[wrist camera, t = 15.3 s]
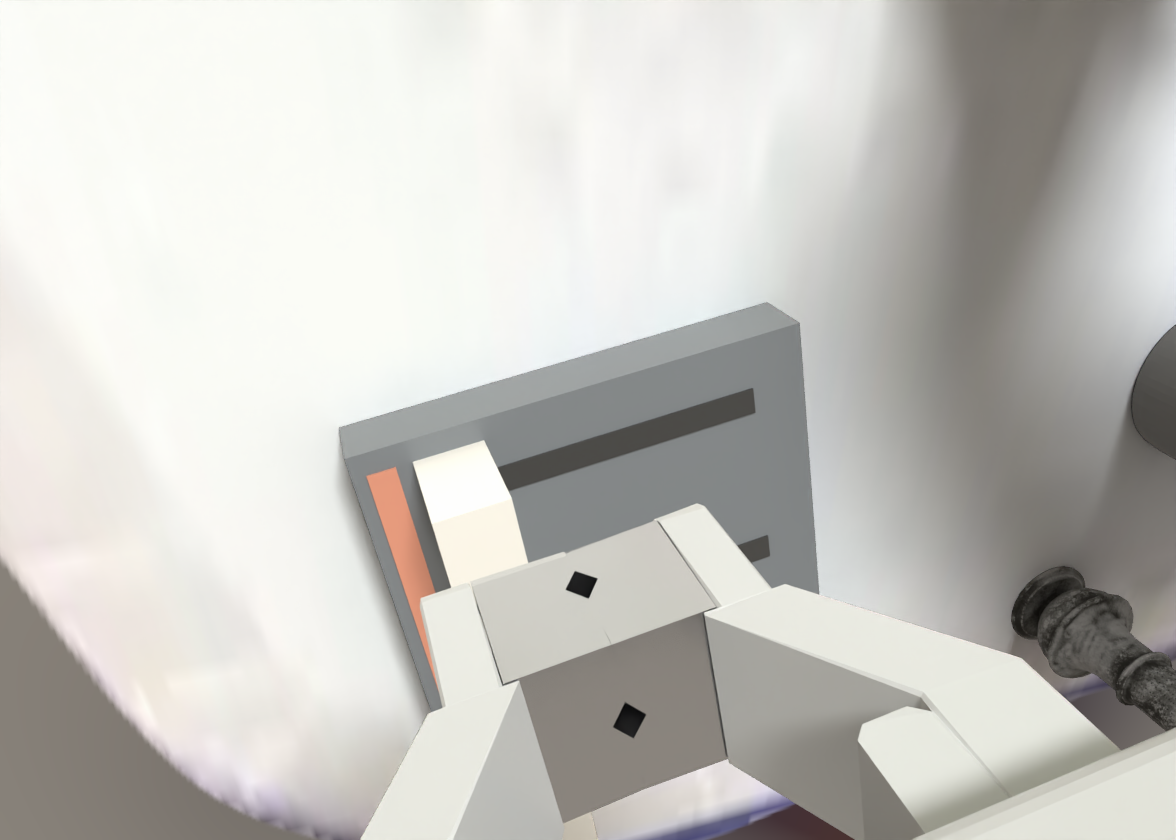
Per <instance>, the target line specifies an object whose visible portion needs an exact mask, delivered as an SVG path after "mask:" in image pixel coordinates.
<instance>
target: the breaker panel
mask: <svg viewBox="0 0 1176 840" xmlns="http://www.w3.org/2000/svg"><path fill="white" fill-rule="evenodd" d="M339 431H340V437H341V443H342V449H343V455H344V460H345V463H346V466H347V469H348V472H349V475H350V478H351V480H352V483H353V486H354V489H355V492H356V495H357V498H358V501H359V504H360V506H361V509H362V512H363V515H364V518H365V521H366V524H367V527H368V530H369V532H370V535H371V538H372V541H373V544H374V547H375V550H376V553H377V556H378V559H379V561H380V564H381V567H382V570H383V573H384V576H385V579H386V582H387V585H388V587H389V590H390V593H391V596H392V599H393V602H394V605H395V608H396V611H397V614H398V616H399V619H400V622H401V625H402V628H403V631H404V634H405V637H406V640H407V642H408V645H409V648H410V651H411V654H412V657H413V660H414V663H415V666H416V669H417V671H418V674H419V677H420V680H421V683H422V686H423V689H424V692H425V695H426V697H427V700H428V703H429V706H430V709H431V712H433V711H436V710H439V709H441V708H442V703H441V699H440V695H439V690H438V686H437V681H436V677H435V672H434V668H433V663H432V659H431V655H430V650H429V646H428V641H427V637H426V632H425V628H424V624H423V619H422V615H421V610H420V599H421V598H423V597H425V596H428V595H431V594H434V593H437V592H440V591H443V590H446V589H449V588H452V587H455V586H458V585H461V584H464V583H468V584H469V585H470V586H471V583H470V581H473V580H476V579H479V578H482V577H486V576H489V575H492V574H495V573H498V572H501V571H504V570H508V569H511V568H514V567H517V566H520V565H523V564H526V563H530V562H533V561H536V560H539V559H542V558H545V557H548V556H552V555H555V554H558V553H561V552H567V551H570V550H573V549H576V548H579V547H581V546H584V545H587V544H590V543H593V542H596V541H598V540H601V539H604V538H607V537H610V536H613V535H616V534H618V533H621V532H624V531H627V530H630V529H633V528H635V527H638V526H641V525H644V524H647V523H650V522H652V521H653V520H654V519H657V518H659V517H662V516H665V515H667V514H670V513H673V512H675V511H678V510H681V509H683V508H686V507H689V506H691V505H694V504H696V503H698V504H700V505H703V506H705V507H706V508H707V510H708V511H709V512H710V513H711V515H712V516H713V517H714V518H715V519H716V521H717V522H718V523H719V524H720V526H721V527H722V528H723V529H724V530H725V532H726V533H727V534H728V535H729V537H730V538H731V539H732V540H733V541H734V543H735V544H736V545H737V546H738V548H739V549H740V550H741V551H742V553H743V554H744V555H745V556H746V557H747V559H748V560H749V561H750V562H751V564H752V565H753V566H754V567H755V568H756V570H757V571H758V572H759V573H760V575H761V576H762V577H763V578H764V580H765V581H766V582H767V583H768V584H769V586H770V587H771V588H775V587H778V586H781V585H784V584H787V585H790V586H793V587H797V588H800V589H803V590H806V591H809V592H813V593H816V594H819V585H818V571H817V557H816V543H815V530H814V516H813V502H812V488H811V475H810V461H809V447H808V433H807V420H806V406H805V392H804V378H803V365H802V351H801V337H800V323H799V322H797V321H796V320H794V319H793V318H791V317H789V316H788V315H786V314H785V313H783V312H782V311H780V310H779V309H777V308H775V307H774V306H772V305H771V304H769V303H768V302H767V303H763V304H760V305H757V306H753V307H750V308H746V309H743V310H739V311H736V312H733V313H729V314H726V315H722V316H719V317H716V318H712V319H709V320H705V321H702V322H698V323H695V324H692V325H688V326H685V327H681V328H678V329H675V330H671V331H668V332H664V333H661V334H657V335H654V336H651V337H647V338H644V339H640V340H637V341H634V342H630V343H627V344H623V345H620V346H616V347H613V348H610V349H606V350H603V351H599V352H596V353H593V354H589V355H586V356H582V357H579V358H575V359H572V360H569V361H565V362H562V363H558V364H555V365H552V366H548V367H545V368H541V369H538V370H534V371H531V372H528V373H524V374H521V375H517V376H514V377H511V378H507V379H504V380H500V381H497V382H493V383H490V384H487V385H483V386H480V387H476V388H473V389H470V390H466V391H463V392H459V393H456V394H452V395H449V396H446V397H442V398H439V399H435V400H432V401H429V402H425V403H422V404H418V405H415V406H411V407H408V408H405V409H401V410H398V411H394V412H391V413H388V414H384V415H381V416H377V417H374V418H370V419H367V420H364V421H360V422H357V423H353V424H350V425H347V426H343V427H340V428H339ZM471 589H472V586H471ZM472 592H473V590H472ZM473 596H474V593H473ZM474 599H475V596H474ZM475 602H476V600H475ZM476 605H477V603H476ZM477 608H478V606H477ZM478 611H479V609H478ZM479 614H480V612H479ZM563 825H564V828H565V829H564V833H563V837H562V840H598V837H597V833H596V829H595V825H594V821H593V817H592V813H591V812H589V813H587V814H584V815H582V816H580V817H577V818H575V819H573V820H570V821H568V822H566V823H563Z"/></svg>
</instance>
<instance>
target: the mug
mask: <svg viewBox="0 0 1176 840" xmlns="http://www.w3.org/2000/svg"><path fill="white" fill-rule="evenodd" d="M1132 415H1133V420H1134V424H1135V426H1136V428H1137V430H1138V432H1139V433H1140V434H1141V436H1142V437H1143V438H1144V439H1145V440H1146V441H1147V442H1148V443H1150V444H1151V445H1152V446H1154V447H1155V448H1157V449H1158V450H1160V451H1162V452H1163V453H1165V454H1167V455H1168V456H1170V457H1172V458H1174V459H1175V460H1176V325H1175V326H1174V327H1172V328H1171V329H1170V330H1169V331H1168V332H1167V333H1166V334H1165V335H1164V336H1163V337H1162V338H1161V340H1160V341H1159V342H1158V343H1157V344H1156V346H1155V347H1154V348H1153V350H1152V351H1151V353H1150V354H1149V356H1148V357H1147V359H1146V361H1145V363H1144V364H1143V366H1142V369H1141V371H1140V373H1139V375H1138V378H1137V381H1136V384H1135V387H1134V392H1133V398H1132Z"/></svg>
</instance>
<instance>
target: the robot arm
mask: <svg viewBox="0 0 1176 840" xmlns="http://www.w3.org/2000/svg"><path fill="white" fill-rule="evenodd" d="M470 583H471V586H472V589H471V586H470V585H469V584H468V583H464V584H461V585H458V586H455V587H452V588H449V589H446V590H443V591H440V592H437V593H434V594H431V595H428V596H425V597H423V598H421V599H420V610H421V615H422V619H423V624H424V628H425V632H426V637H427V641H428V646H429V650H430V655H431V659H432V663H433V668H434V672H435V677H436V681H437V686H438V690H439V695H440V699H441V703H442V708H441V709H439V710H436V711H433V712H431V713H429V714H427V716H426V718H425V720H424V722H423V723H422V725H421V727H420V729H419V731H418V733H417V735H416V736H415V738H414V740H413V742H412V744H411V746H410V748H409V750H408V751H407V753H406V755H405V757H404V759H403V761H402V763H401V764H400V766H399V768H398V770H397V772H396V774H395V776H394V777H393V779H392V781H391V783H390V785H389V787H388V789H387V791H386V792H385V794H384V796H383V798H382V800H381V802H380V804H379V805H378V807H377V809H376V811H375V813H374V815H373V817H372V818H371V820H370V822H369V824H368V826H367V828H366V830H365V832H364V833H363V835H362V837H361V839H360V840H562V837H563V833H564V829H565V828H564V825H563V823H566V822H568V821H570V820H573V819H575V818H577V817H580V816H582V815H584V814H587V813H589V812H591V811H594V810H596V809H598V808H601V807H603V806H606V805H608V804H610V803H613V802H615V801H617V800H620V799H622V798H624V797H627V796H629V795H631V794H634V793H636V792H638V791H641V790H643V789H645V788H649V787H651V786H654V785H657V784H660V783H662V782H665V781H668V780H671V779H673V778H676V777H679V776H682V775H684V774H687V773H690V772H693V771H696V770H698V769H701V768H704V767H707V766H709V765H712V764H715V763H718V762H720V761H723V760H726V759H728V760H729V763H730V764H732V765H733V766H735V767H737V768H738V769H740V770H742V771H743V772H745V773H747V774H748V775H750V776H751V777H753V778H755V779H756V780H758V781H760V782H761V783H763V784H765V785H766V786H768V787H770V788H771V789H773V790H774V791H776V792H778V793H779V794H781V795H783V796H784V797H786V798H788V799H789V800H791V801H793V802H794V803H796V804H798V805H799V806H801V807H803V808H804V809H806V810H807V811H809V812H811V813H812V814H814V815H816V816H817V817H819V818H821V819H822V820H824V821H825V822H827V823H829V824H830V825H832V826H834V827H835V828H837V829H839V830H840V831H842V832H844V833H845V834H847V835H849V836H850V837H852V838H853V839H855V840H1176V728H1173V729H1171V730H1169V731H1166V732H1164V733H1162V734H1159V735H1157V736H1155V737H1152V738H1150V739H1147V740H1145V741H1143V742H1140V743H1138V744H1136V745H1133V746H1131V747H1129V748H1126V749H1124V750H1120V749H1119V748H1118V747H1117V746H1116V745H1115V744H1114V743H1112V741H1110V740H1109V739H1108V738H1107V737H1106V736H1105V735H1104V734H1103V733H1102V732H1101V731H1099V729H1097V728H1096V727H1095V726H1094V725H1093V724H1092V723H1091V722H1090V721H1089V720H1088V719H1087V718H1085V716H1083V715H1082V714H1081V713H1080V712H1079V711H1078V710H1077V709H1076V708H1075V707H1074V706H1073V705H1071V704H1070V703H1069V702H1068V701H1067V700H1066V699H1065V698H1064V697H1063V696H1062V695H1061V694H1060V693H1059V692H1057V691H1056V690H1055V689H1054V688H1053V687H1052V686H1051V685H1050V684H1049V683H1048V682H1047V681H1046V680H1045V679H1043V678H1042V677H1041V676H1040V675H1039V674H1038V673H1037V672H1036V671H1035V670H1034V669H1033V668H1032V667H1030V666H1029V665H1028V664H1027V663H1026V662H1025V661H1024V660H1023V659H1022V658H1020V657H1017V656H1013V655H1010V654H1007V653H1004V652H1001V651H997V650H994V649H991V648H988V647H985V646H982V645H978V644H975V643H972V642H969V641H966V640H962V639H959V638H956V637H953V636H950V635H946V634H943V633H940V632H937V631H934V630H931V629H927V628H924V627H921V626H918V625H915V624H911V623H908V622H905V621H902V620H899V619H895V618H892V617H889V616H886V615H883V614H879V613H876V612H873V611H870V610H867V609H864V608H860V607H857V606H854V605H851V604H848V603H844V602H841V601H838V600H835V599H832V598H828V597H825V596H822V595H819V594H816V593H813V592H809V591H806V590H803V589H800V588H797V587H793V586H790V585H787V584H784V585H781V586H778V587H775V588H771V587H770V586H769V584H768V583H767V582H766V581H765V580H764V578H763V577H762V576H761V575H760V573H759V572H758V571H757V570H756V568H755V567H754V566H753V565H752V564H751V562H750V561H749V560H748V559H747V557H746V556H745V555H744V554H743V553H742V551H741V550H740V549H739V548H738V546H737V545H736V544H735V543H734V541H733V540H732V539H731V538H730V537H729V535H728V534H727V533H726V532H725V530H724V529H723V528H722V527H721V526H720V524H719V523H718V522H717V521H716V519H715V518H714V517H713V516H712V515H711V513H710V512H709V511H708V510H707V508H706V507H705V506H703V505H700V504H698V503H696V504H694V505H691V506H689V507H686V508H683V509H681V510H678V511H675V512H673V513H670V514H667V515H665V516H662V517H659V518H657V519H654V520H653V521H652V522H650V523H647V524H644V525H641V526H638V527H635V528H633V529H630V530H627V531H624V532H621V533H618V534H616V535H613V536H610V537H607V538H604V539H601V540H598V541H596V542H593V543H590V544H587V545H584V546H581V547H579V548H576V549H573V550H570V551H567V552H561V553H558V554H555V555H552V556H548V557H545V558H542V559H539V560H536V561H533V562H530V563H526V564H523V565H520V566H517V567H514V568H511V569H508V570H504V571H501V572H498V573H495V574H492V575H489V576H486V577H482V578H479V579H476V580H473V581H470ZM472 590H473V592H472ZM473 593H474V596H475V599H474V596H473ZM475 600H476V602H475ZM476 603H477V605H476ZM477 606H478V608H477ZM478 609H479V611H478ZM479 612H480V614H479ZM480 615H481V617H480ZM481 619H482V620H481ZM482 622H483V623H482ZM483 625H484V626H483ZM484 628H485V629H484ZM485 631H486V632H485ZM486 634H487V636H486ZM487 638H488V639H487ZM488 641H489V642H488ZM489 644H490V645H489ZM490 647H491V648H490ZM491 650H492V651H491Z"/></svg>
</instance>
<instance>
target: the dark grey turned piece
mask: <svg viewBox="0 0 1176 840" xmlns="http://www.w3.org/2000/svg"><path fill="white" fill-rule="evenodd" d="M1132 623H1133V613H1132V608H1131V606H1130V604H1129V603H1128V601H1127V600H1125V599H1124V598H1122V597H1120V596H1118V595H1112V594H1107V593H1105V592H1103V591H1098V590H1094V589H1089V588H1085V583H1084V579H1083V577H1082V576H1081V574H1080V573H1079V572H1078V571H1076V570H1075V569H1073V568H1070V567H1065V566H1064V567H1055V568H1053V569H1050V570H1047V571H1045V572H1043V573H1042V574H1040V575H1038V576H1037V577H1035V578H1034V579H1033V580H1032V581H1031V582H1030V583H1029V584H1028V585H1027V586H1026V587H1025V588H1024V589H1023V591H1022V592H1021V593H1020V595H1019V597H1018V598H1017V600H1016V602H1015V604H1014V608H1013V611H1012V624H1013V628H1014V629H1015V631H1016V632H1017V633H1018V634H1019V635H1020V636H1022V637H1024V638H1026V639H1038V642H1039V645H1040V647H1041V649H1042V651H1043V653H1044V655H1045V656H1046V657H1047V659H1048V660H1049V665H1050V667H1051V668H1052V670H1053V671H1054V672H1055V673H1056V674H1058V675H1060V676H1062V677H1066V678H1077V677H1083V676H1086V675H1088V674H1091V673H1093V674H1095V675H1097V676H1098V677H1099V678H1101V679H1102V680H1103V681H1104V682H1105V683H1107V684H1108V685H1109V686H1110V687H1111V688H1113V689H1114V690H1115V691H1116V696H1117V698H1118V700H1119V701H1120V702H1121V703H1123V704H1125V705H1135V706H1137V707H1138V708H1139V709H1140V710H1142V711H1143V712H1144V713H1145V714H1146V715H1147V716H1149V717H1150V718H1151V719H1152V720H1153V721H1155V722H1156V723H1157V724H1158V725H1159V726H1161V727H1162V728H1163V729H1164V730H1165V731H1169V730H1171V729H1173V728H1176V671H1175V670H1174V669H1173V668H1172V665H1171V660H1170V658H1169V657H1168V656H1167V655H1166V654H1164V653H1161V652H1153V651H1151V650H1150V649H1149V648H1147V647H1146V646H1145V645H1143V644H1142V643H1141V642H1139V641H1138V640H1137V639H1135V638H1134V636H1133V635H1132V634H1131V633H1130V631H1131V628H1132Z"/></svg>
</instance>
